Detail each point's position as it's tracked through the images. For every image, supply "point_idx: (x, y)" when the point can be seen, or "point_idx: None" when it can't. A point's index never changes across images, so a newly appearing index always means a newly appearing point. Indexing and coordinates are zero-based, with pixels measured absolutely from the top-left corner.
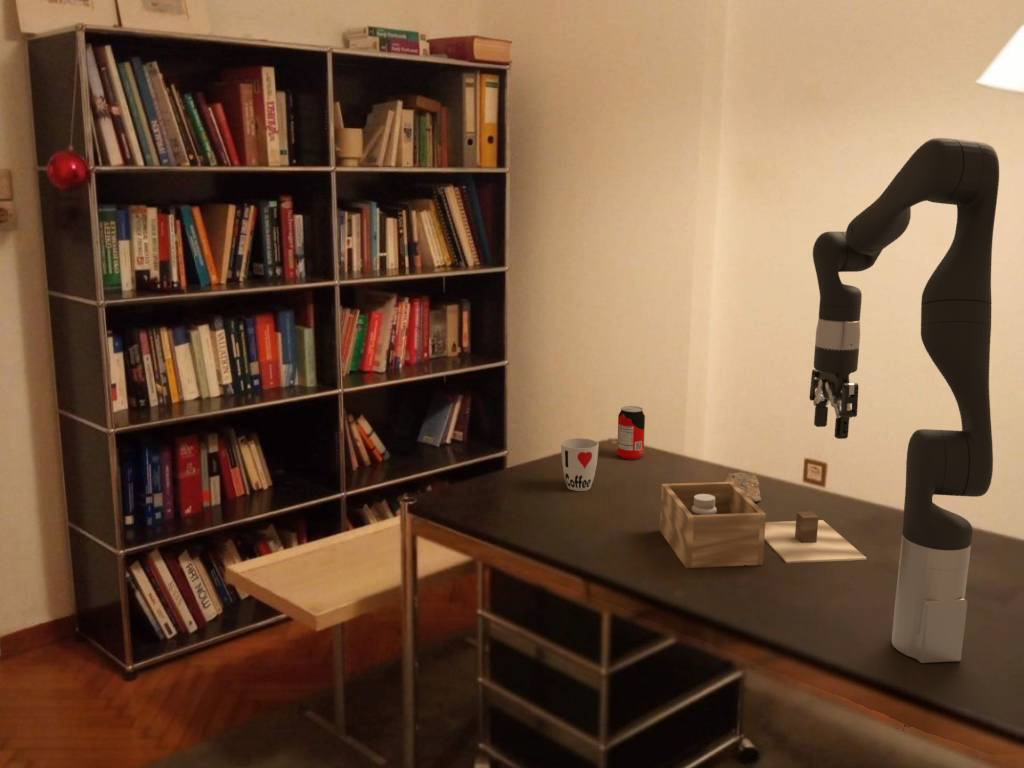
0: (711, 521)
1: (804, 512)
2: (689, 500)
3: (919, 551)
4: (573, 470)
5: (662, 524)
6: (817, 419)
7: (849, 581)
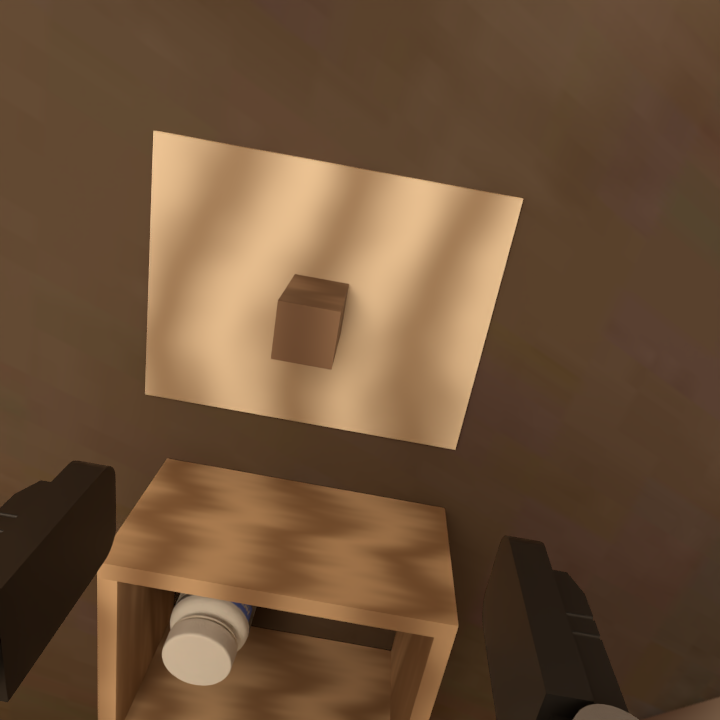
0: None
1: (281, 334)
2: (139, 640)
3: None
4: None
5: None
6: (80, 581)
7: (638, 355)
